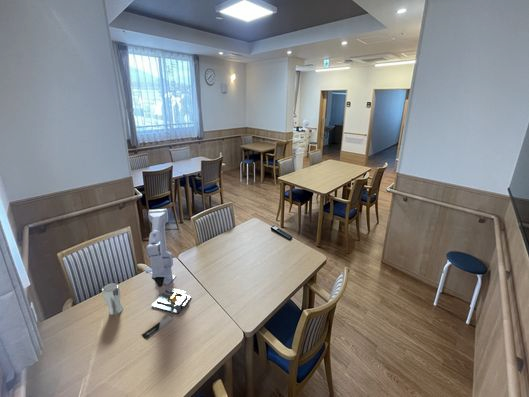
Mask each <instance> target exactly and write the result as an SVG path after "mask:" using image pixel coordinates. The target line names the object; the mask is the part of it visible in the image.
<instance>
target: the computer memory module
mask: <svg viewBox="0 0 529 397" xmlns="http://www.w3.org/2000/svg"><path fill="white" fill-rule="evenodd" d="M173 320H174V317H173V316H172V315H171V314H169V315H167V316H166V317H165V318H163V319H162V320H160V321H159V322H157V323H156V324H155V325H153V326H151V328H149V329H148V330H146V331H144V333H142V334H141V336H142V338H144V339H146V340H147V339H148V338H150V337H152V336H153V335H154V334H155V333H156V332H158V331H160V330H162V328H163V327H165V326H166V325H168V324H169V323H170V322H172V321H173Z"/></svg>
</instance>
